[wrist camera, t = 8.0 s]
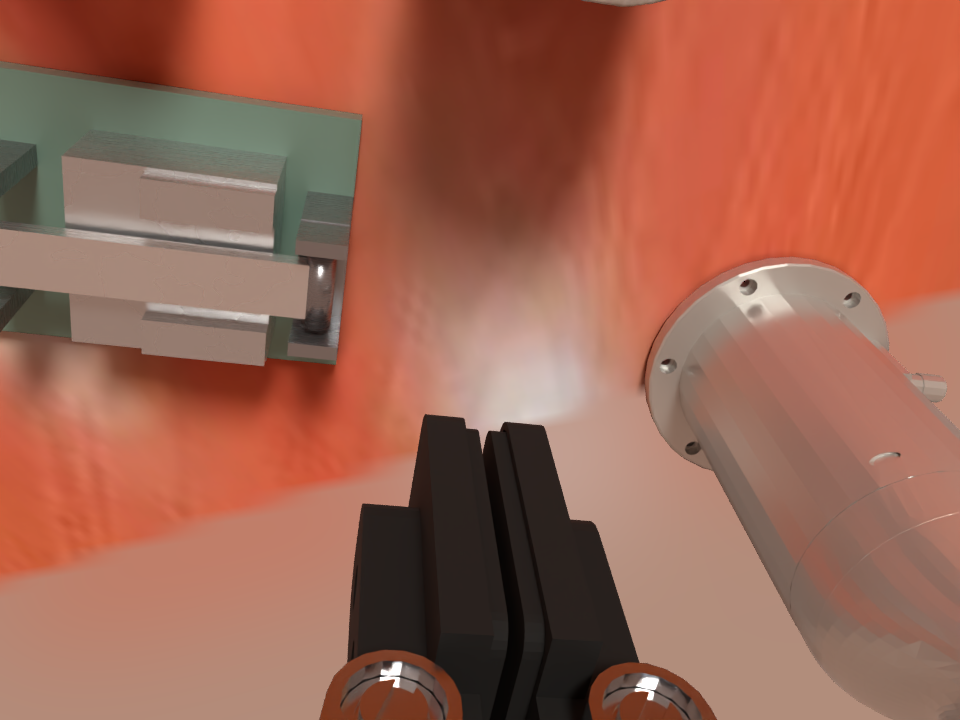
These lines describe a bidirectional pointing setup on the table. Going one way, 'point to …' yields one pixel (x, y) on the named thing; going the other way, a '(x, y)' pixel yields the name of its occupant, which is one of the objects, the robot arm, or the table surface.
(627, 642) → the robot arm
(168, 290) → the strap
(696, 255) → the table surface
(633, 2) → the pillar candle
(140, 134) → the board
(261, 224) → the grey block frame
